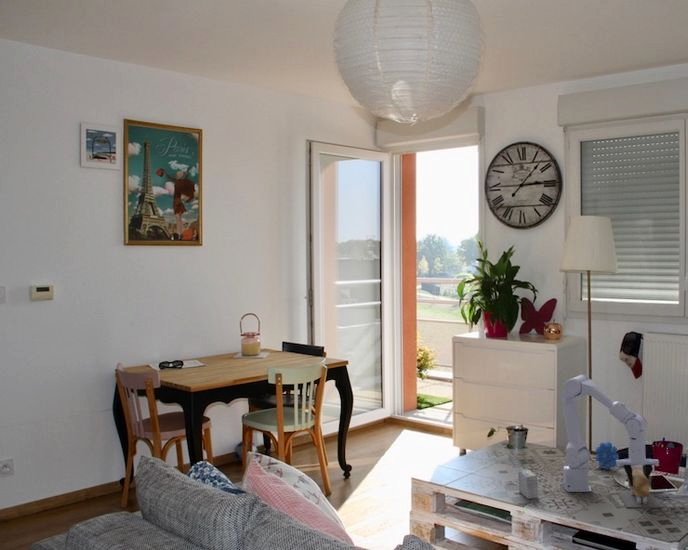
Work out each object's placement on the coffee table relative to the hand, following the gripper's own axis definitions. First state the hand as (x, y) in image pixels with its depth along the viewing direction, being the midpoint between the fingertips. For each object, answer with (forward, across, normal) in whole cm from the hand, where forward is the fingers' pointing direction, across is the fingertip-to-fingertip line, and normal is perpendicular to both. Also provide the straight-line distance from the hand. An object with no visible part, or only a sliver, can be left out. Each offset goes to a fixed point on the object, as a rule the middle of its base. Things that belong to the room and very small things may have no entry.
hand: (638, 485), depth 270 cm
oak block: (+2, 0, 0) cm, 2 cm away
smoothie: (+6, +3, +13) cm, 15 cm away
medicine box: (+6, -39, +6) cm, 40 cm away
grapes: (+6, -3, +37) cm, 38 cm away
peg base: (+6, 0, 0) cm, 6 cm away
